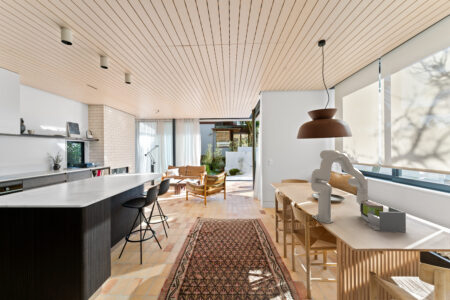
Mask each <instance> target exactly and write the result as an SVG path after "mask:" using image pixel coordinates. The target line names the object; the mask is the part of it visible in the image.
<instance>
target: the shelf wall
mask: <svg viewBox="0 0 450 300" xmlns="http://www.w3.org/2000/svg"><path fill="white" fill-rule="evenodd" d="M379 216H380V231H379V232H386V233H389V232H390V233H406V232H407V219H406V218H407V214H406V211H402V210H400V209H397V208H394V207H392V206H388V211H383V212H379Z"/></svg>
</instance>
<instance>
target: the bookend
mask: <svg viewBox="0 0 450 300" xmlns="http://www.w3.org/2000/svg"><path fill="white" fill-rule="evenodd" d="M364 225H365V226H366V227H369V228H370V229H372V230H374V231H375V232H376V231H377V232H381V231H380V217H377V216H375V215H373V214H371V213H368V221H367V223H366V222H365V223H364Z"/></svg>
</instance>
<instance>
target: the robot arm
mask: <svg viewBox="0 0 450 300" xmlns="http://www.w3.org/2000/svg"><path fill="white" fill-rule="evenodd" d="M319 157H320V159H321V161H320V164H319V165H320V166H319V168H316V169H314V170H313V171H312V173H311V182H310V183H311V185H310V186H311V187H310V188H311V190H312V191H313V192H315V193H319V194H318V197H317V211H318V212H317V213H316V215H315V214H312V215H311V217H312V218H314V219H316V221H318V222H320V223H325V224H331V223H333V222H334V219H333V218H332V202H331V201H332V199H331V198H332V197H331V196H332V192H333V187H332V185H331V184H330V183H327V182H329V181H330V180H331V177H332V168H333V164H334V163H338V164H339V166H340V167H341V169H342V171H343V172H344V173H346V174H347V175H350V176H352V177H349V178H348V179H347V183H348V184H349V186H353V187H356V189H357V190H356V191H357V193H356V199H355V200H356V203H357V204H358V205H359V208H360V209H359V212H360V213H361V201H369V195H368V194H369V193H368V192H369V191H368V187H369V186H368V184H369V182H368V178H367V177H365V176H364V174H363V173H362V172H361V171H360V170H358V169H357V168H355V167H354V165H353V163H352V162H351V159H350V158H349V156H348V154H346V153H342V152H340V151H338V150H336V149H335V150H334V149H332V150H331V149H327V150H322V151H320V154H319Z"/></svg>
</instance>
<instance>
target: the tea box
mask: <svg viewBox="0 0 450 300" xmlns="http://www.w3.org/2000/svg"><path fill="white" fill-rule="evenodd" d="M379 212H384V205H382V204H380V203H377V202H375V201H372V200H371V201H370V200H368V201H361V212H360V217H361V218H362V219H363V220H365V221H366V222H368V213H371V214H373V215H375V216H377V217H380V216H379Z"/></svg>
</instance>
